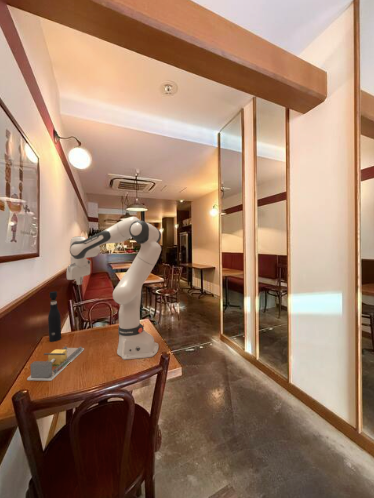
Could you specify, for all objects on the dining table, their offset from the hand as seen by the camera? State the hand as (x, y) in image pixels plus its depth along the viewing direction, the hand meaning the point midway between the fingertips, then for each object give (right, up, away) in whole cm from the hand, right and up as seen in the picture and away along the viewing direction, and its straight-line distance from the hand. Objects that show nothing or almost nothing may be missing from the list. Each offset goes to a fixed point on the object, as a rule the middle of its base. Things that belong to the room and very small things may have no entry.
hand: (79, 284), depth 130 cm
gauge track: (+3, -35, -26) cm, 44 cm away
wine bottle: (-15, -35, 0) cm, 38 cm away
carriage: (+3, -34, -29) cm, 45 cm away
